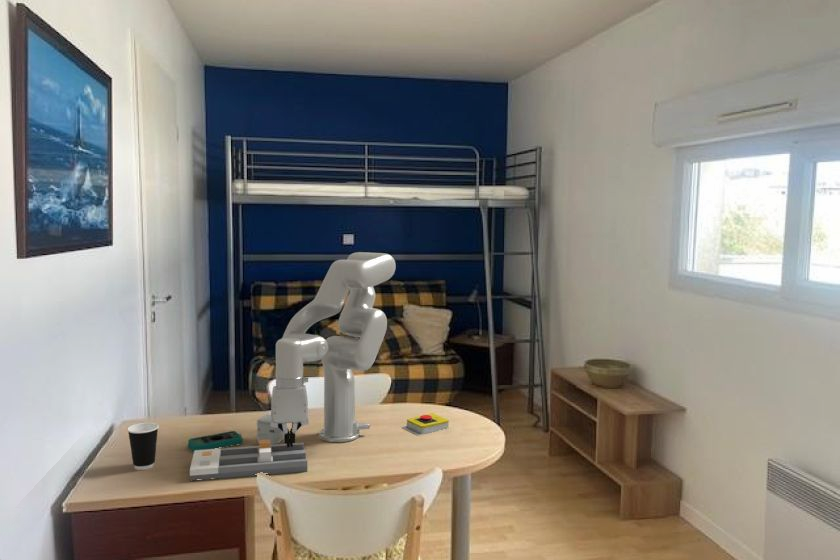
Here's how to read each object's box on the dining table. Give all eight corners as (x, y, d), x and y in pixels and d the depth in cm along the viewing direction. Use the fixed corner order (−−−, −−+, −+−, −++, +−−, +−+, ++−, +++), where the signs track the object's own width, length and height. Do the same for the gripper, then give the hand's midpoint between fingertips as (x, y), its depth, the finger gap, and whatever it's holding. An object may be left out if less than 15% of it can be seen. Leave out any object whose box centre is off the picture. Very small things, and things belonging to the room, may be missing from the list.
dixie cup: (166, 464, 176) (165, 425, 175) (141, 474, 169) (140, 434, 168) (146, 458, 180) (145, 420, 178) (121, 468, 173) (120, 428, 172)
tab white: (272, 460, 175) (272, 447, 175) (273, 465, 172) (272, 452, 171) (257, 461, 174) (257, 448, 174) (257, 466, 171) (257, 453, 170)
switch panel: (303, 452, 186) (303, 441, 186) (307, 471, 172) (307, 459, 172) (194, 461, 178) (194, 449, 178) (190, 481, 165) (189, 469, 165)
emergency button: (401, 416, 209) (438, 408, 218) (401, 429, 209) (437, 421, 218) (418, 423, 201) (455, 415, 210) (418, 437, 202) (455, 428, 211)
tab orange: (271, 451, 182) (271, 438, 182) (272, 455, 178) (272, 442, 178) (257, 452, 181) (257, 439, 181) (257, 456, 177) (257, 444, 177)
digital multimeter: (244, 445, 193) (244, 435, 192) (194, 455, 184) (194, 445, 184) (236, 438, 198) (236, 428, 198) (187, 447, 190) (186, 437, 190)
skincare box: (256, 443, 193) (256, 419, 193) (267, 436, 199) (267, 413, 198) (274, 445, 191) (274, 421, 191) (284, 438, 197) (284, 415, 196)
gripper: (315, 377, 185) (315, 439, 187) (261, 380, 181) (262, 443, 183) (317, 384, 178) (317, 448, 179) (262, 387, 174) (262, 452, 176)
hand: (289, 445), depth 181 cm, fingers closed
